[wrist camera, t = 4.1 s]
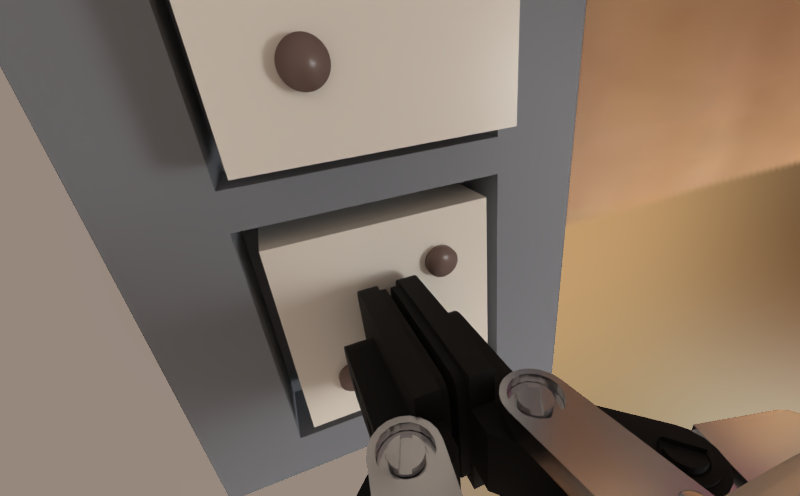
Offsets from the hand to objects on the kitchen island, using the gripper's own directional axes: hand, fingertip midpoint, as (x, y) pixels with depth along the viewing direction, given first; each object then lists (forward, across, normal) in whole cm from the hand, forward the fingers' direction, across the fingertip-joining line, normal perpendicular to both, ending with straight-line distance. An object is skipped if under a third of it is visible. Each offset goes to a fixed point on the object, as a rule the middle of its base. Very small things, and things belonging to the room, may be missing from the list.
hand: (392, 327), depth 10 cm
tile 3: (+2, 0, 0) cm, 2 cm away
